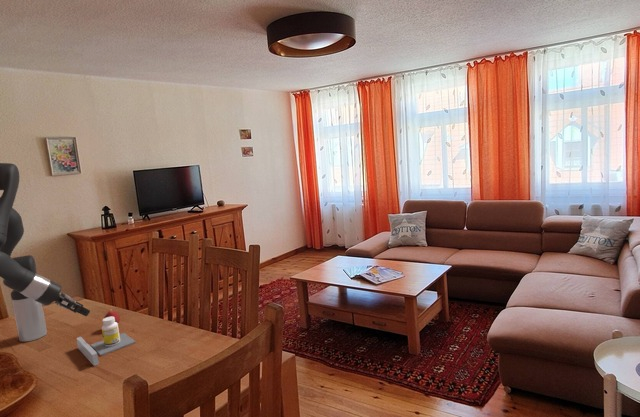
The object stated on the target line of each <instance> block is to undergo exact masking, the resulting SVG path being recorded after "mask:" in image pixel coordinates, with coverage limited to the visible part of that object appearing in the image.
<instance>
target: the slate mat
mask: <svg viewBox="0 0 640 417" xmlns="http://www.w3.org/2000/svg"><path fill="white" fill-rule="evenodd" d="M119 334H120V342H119V343H118V344H116V345H114V346H105V345H104V340H103V339H102V340H99V341H97V342H94V343H91V344H90V346H91V347H92V348H93V349H94V350H95V351H96V352H97V355H98V356H104V355H106V354H110V353H112V352H115V351H117V350H121V349H123V348H126V347H129V346H131V345H134V344H136V342H137V341H135V340H134V339H133V338H132V337H130V336H129V335H128V334H127V333H125V332H122V333H119Z"/></svg>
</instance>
